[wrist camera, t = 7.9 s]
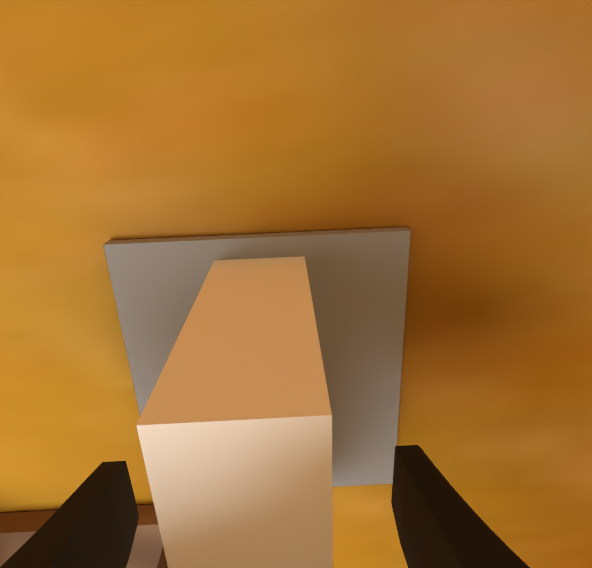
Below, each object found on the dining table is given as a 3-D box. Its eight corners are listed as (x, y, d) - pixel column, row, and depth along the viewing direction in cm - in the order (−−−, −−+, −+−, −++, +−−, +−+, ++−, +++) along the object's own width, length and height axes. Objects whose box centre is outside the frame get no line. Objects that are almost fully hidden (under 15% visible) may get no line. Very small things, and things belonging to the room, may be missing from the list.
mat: (391, 474, 18) (394, 483, 18) (160, 487, 18) (157, 496, 18) (406, 226, 14) (410, 230, 14) (109, 240, 14) (103, 244, 14)
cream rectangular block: (311, 482, 18) (333, 750, 10) (240, 486, 18) (210, 758, 10) (304, 256, 14) (331, 414, 6) (214, 260, 14) (136, 425, 6)
